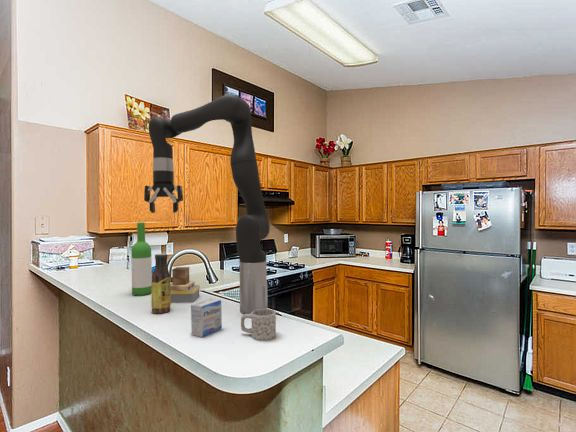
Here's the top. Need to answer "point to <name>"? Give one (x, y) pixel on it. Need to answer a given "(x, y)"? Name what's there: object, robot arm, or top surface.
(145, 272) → the wine bottle
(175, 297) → the yellow and gray block
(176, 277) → the crate
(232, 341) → the top surface
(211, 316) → the medicine box
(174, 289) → the pallet
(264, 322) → the mug
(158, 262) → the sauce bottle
